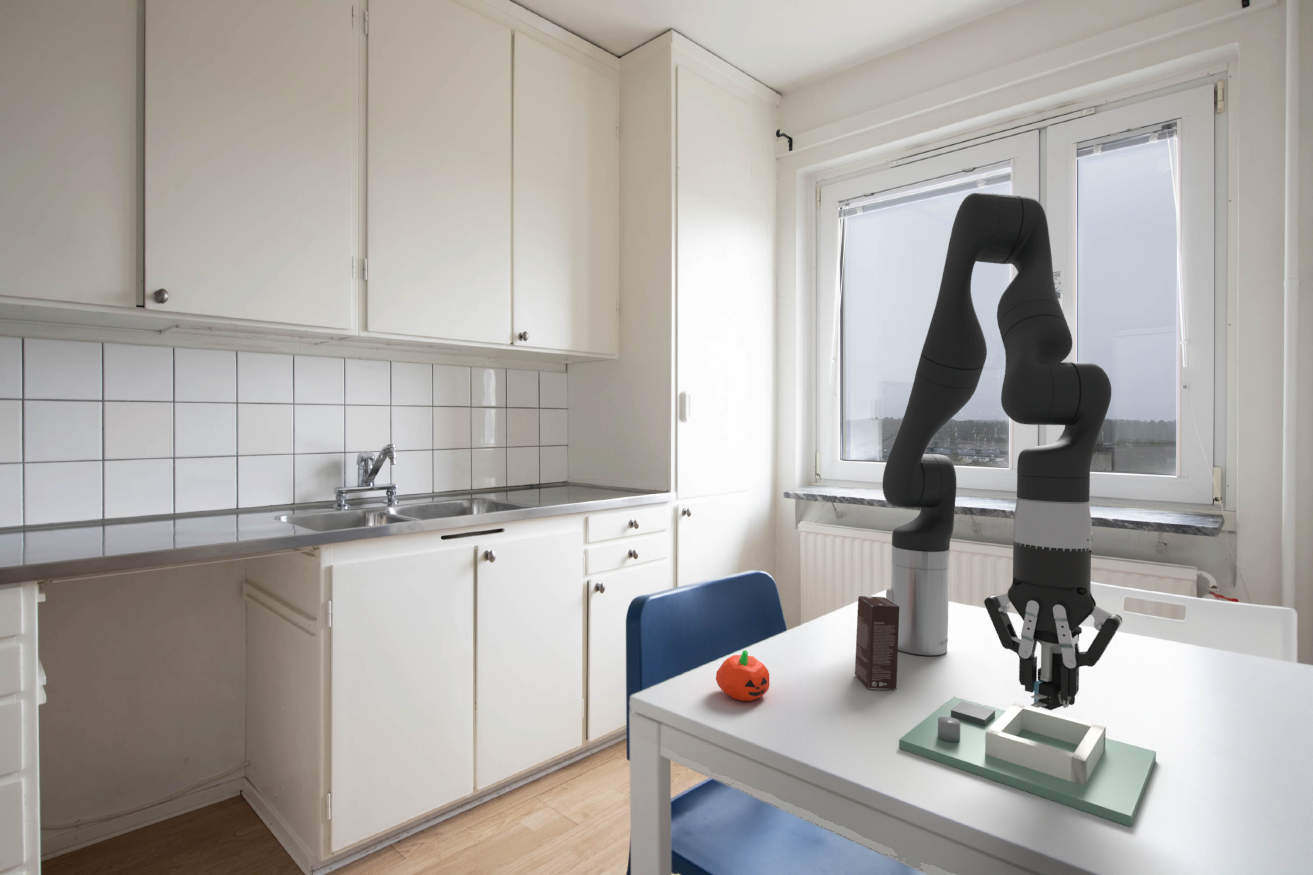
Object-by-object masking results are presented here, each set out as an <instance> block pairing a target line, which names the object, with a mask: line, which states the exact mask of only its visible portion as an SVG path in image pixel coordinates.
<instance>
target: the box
mask: <svg viewBox="0 0 1313 875" xmlns="http://www.w3.org/2000/svg"><path fill="white" fill-rule="evenodd" d="M899 608H900V607H899V606H897V605H896V604H894V603H892V602H891V601H889V600H888V599H886V596H885V597H883V596H869V595H868V596H866V595H863V596H862V595H859V596H858V598H857V618H856V620H857V623H856V642H855V644H856V646H855V663H854V676H856V677H857V678H858V679H859V680H860V682H862V683H863V685H864V686H865V687H866V689H868V690H873V691H889V690H890V691H891V690H897V686H898V685H897V684H898V683H897V682H898V652H899V650H898V632H899Z"/></svg>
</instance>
